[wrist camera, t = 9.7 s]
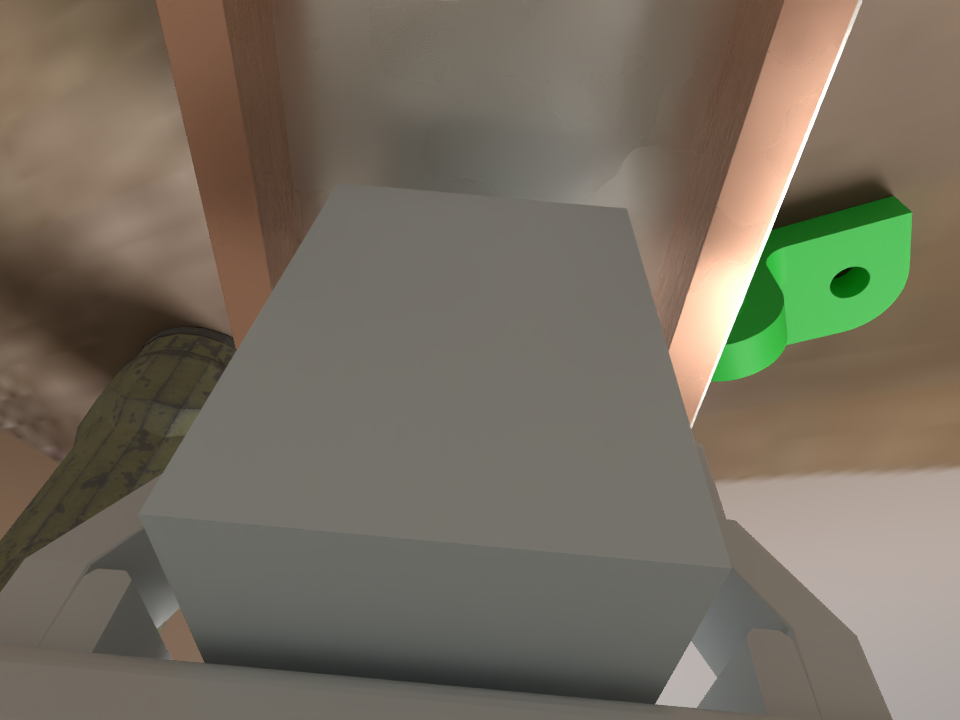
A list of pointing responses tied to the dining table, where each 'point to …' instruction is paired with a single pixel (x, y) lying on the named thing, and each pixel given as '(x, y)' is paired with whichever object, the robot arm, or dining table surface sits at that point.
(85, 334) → the dining table surface
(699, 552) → the pale grey rectangular block
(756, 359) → the mechanical part
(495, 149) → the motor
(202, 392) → the thermos
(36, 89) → the dining table surface
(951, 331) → the dining table surface
